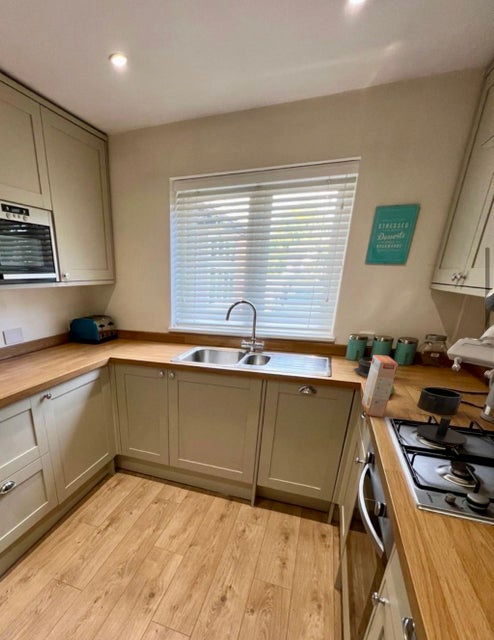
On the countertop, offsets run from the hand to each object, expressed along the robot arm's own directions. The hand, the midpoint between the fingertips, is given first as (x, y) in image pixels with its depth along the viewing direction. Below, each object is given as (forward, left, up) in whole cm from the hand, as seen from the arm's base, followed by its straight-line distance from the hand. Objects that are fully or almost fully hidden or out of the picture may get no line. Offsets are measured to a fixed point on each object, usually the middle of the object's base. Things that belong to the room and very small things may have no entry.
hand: (469, 372), depth 109 cm
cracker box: (+23, +9, -20) cm, 32 cm away
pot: (+9, -11, -20) cm, 25 cm away
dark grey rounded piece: (+51, -43, -20) cm, 70 cm away
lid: (-2, +14, -19) cm, 23 cm away
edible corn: (+30, -14, -20) cm, 39 cm away
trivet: (-2, +14, -20) cm, 24 cm away
